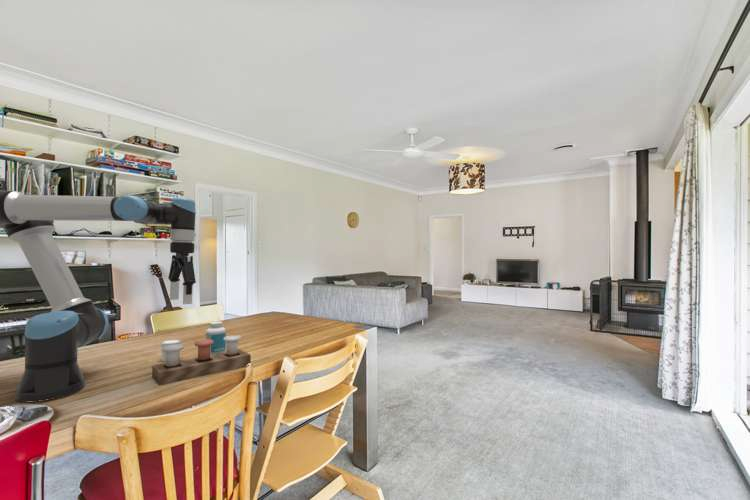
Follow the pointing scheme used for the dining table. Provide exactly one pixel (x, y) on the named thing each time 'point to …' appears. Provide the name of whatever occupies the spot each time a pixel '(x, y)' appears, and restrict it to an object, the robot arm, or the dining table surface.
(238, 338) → the grey plug right
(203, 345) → the brick-red plug
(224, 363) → the press board
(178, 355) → the grey plug left
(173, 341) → the light grey flanged plug
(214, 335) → the pill bottle
